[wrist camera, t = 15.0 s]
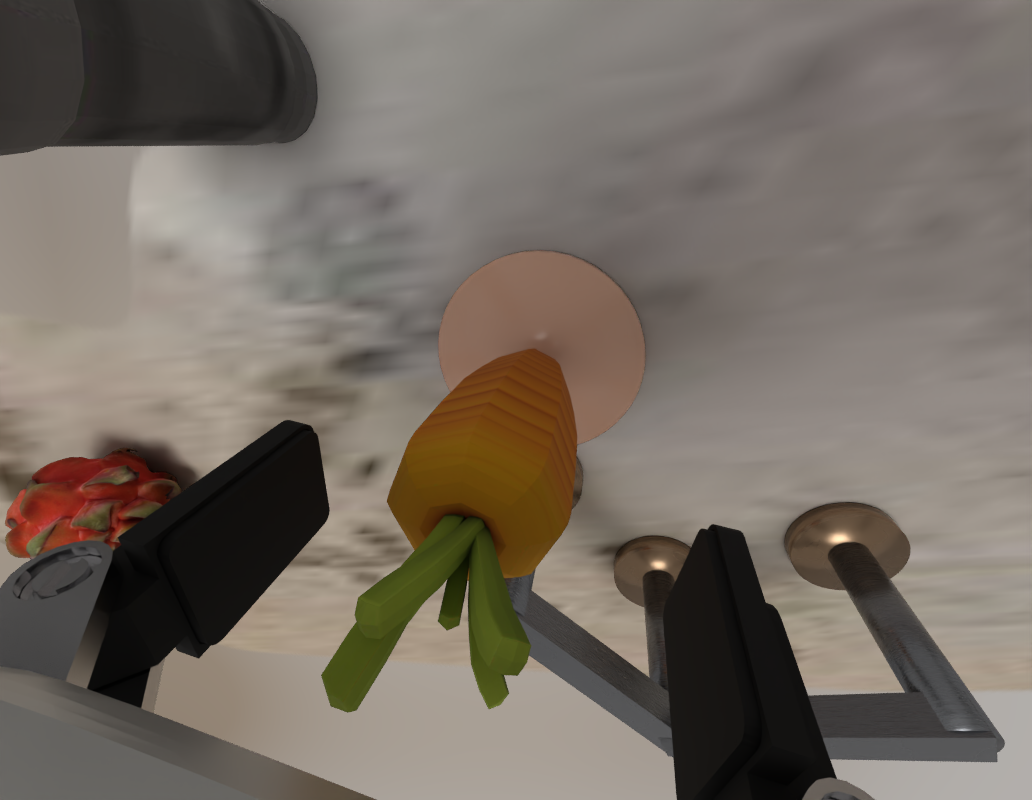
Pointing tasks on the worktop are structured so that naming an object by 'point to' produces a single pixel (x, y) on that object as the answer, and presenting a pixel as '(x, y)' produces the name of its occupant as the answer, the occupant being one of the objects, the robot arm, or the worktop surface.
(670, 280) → the worktop surface
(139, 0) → the beverage cup
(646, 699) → the grey cabinet handle
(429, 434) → the carrot
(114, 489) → the dragon fruit
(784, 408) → the worktop surface
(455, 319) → the terracotta coaster
